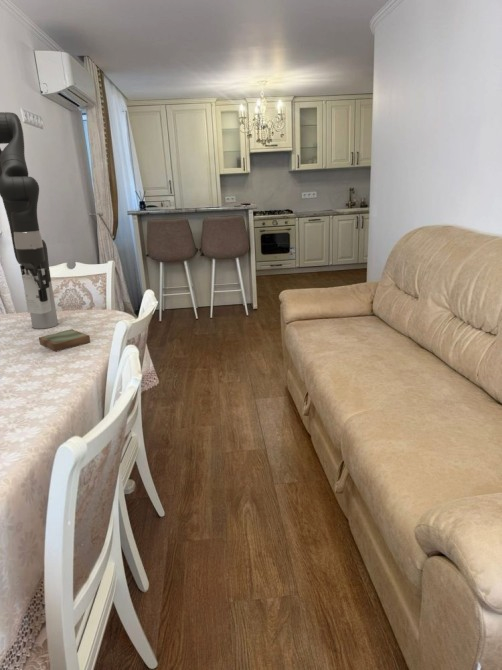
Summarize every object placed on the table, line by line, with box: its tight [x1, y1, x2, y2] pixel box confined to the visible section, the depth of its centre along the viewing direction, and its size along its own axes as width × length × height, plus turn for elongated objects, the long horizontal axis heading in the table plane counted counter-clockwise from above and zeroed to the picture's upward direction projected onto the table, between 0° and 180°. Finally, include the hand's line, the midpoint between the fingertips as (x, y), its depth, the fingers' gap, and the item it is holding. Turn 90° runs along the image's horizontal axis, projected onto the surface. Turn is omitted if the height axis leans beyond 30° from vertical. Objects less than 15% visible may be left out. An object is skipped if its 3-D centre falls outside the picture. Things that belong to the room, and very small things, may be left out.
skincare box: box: [21, 274, 51, 314], centre depth 139 cm, size 6×4×12 cm
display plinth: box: [38, 328, 91, 352], centre depth 152 cm, size 12×12×3 cm
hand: (38, 299), depth 140 cm, fingers closed on skincare box, 7 cm apart
